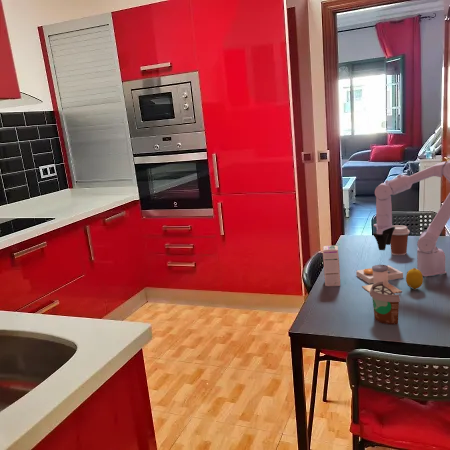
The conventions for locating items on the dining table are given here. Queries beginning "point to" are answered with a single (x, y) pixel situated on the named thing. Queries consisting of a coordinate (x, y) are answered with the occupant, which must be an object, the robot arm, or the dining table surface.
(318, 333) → the dining table surface
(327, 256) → the syrup box
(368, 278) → the beige flat frame
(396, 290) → the birch board
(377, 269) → the cylinder
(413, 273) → the lemon
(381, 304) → the food container
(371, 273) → the orange dome button
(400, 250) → the coffee cup
